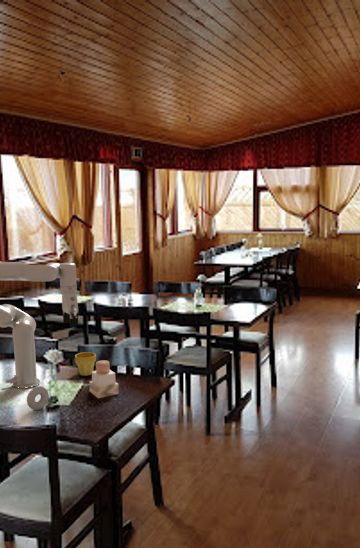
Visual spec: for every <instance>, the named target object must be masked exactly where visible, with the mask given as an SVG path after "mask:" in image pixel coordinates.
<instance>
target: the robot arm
mask: <svg viewBox="0 0 360 548" xmlns="http://www.w3.org/2000/svg"><path fill="white" fill-rule="evenodd" d="M57 278H59V286H60V293H61V309H62V320H63V323H64V324H67V323H69V327H70V328H73V327H74V328H75V327H78V319H77V318H78V314H79V306H78V305H79V303H78V296H77V292H78V289H77V288H78V287H77V265H76V263H74V262H62V263H61V262H48V263H47V264H37V265H35V264H28V263H25V262H22V261H15V262H14V261H12V262H11V261H9V262H8V261H1V260H0V281H23V282H53V281H55V280H57ZM8 327H9V328H12V340H13V352H14V371H15V374H14V375H13V377H12V378H5V383H6V384H12V386H13V387H14V386H15V387H19V388H18V389H25V388H24V387H31V386H35V385H37V384H39V383H40V384H41V380H40V379H39V378H37V361H36V360H37V359H36V345H35V344H36V342H35V330H36V328H37V322H36V320H35V319H34V318H33V316H31V315H29V314H28V313H26V312H25V311H22V310H21V309H20V308H17V307H16V306H15V305H12V304H9V303H8V304H7V303H4V304H0V328H8ZM40 384H39V385H40ZM37 386H38V385H37ZM15 387H14V388H15ZM35 387H36V386H35ZM31 388H32V387H31Z"/></svg>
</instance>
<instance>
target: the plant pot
mask: <svg viewBox="0 0 360 548" xmlns="http://www.w3.org/2000/svg"><path fill="white" fill-rule="evenodd" d="M74 361H75V363H76V366H77V369H78V373H79V376H83V377H85V376H92V371H94V367H95V364H96V362H97V354H96V353H94V352H84V351H83V352H80V353H79V352H78V353H76V354H75V355H74Z"/></svg>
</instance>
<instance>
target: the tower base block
mask: <svg viewBox="0 0 360 548" xmlns="http://www.w3.org/2000/svg"><path fill="white" fill-rule="evenodd" d="M88 384H89V385H88V386H89V392H90V393H91V394H92V395H93V396H94V397H96V398H97V399H101V398H105V397H106V398H107V397H110V396H115V395H119V394H120V392H119V390H120V387H119V383H118V382H116V384H112V385H107V386H102V387H98V386H97V385H96V384H94V383H93V382H92V380H90V381H89V383H88Z"/></svg>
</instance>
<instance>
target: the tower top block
mask: <svg viewBox="0 0 360 548" xmlns="http://www.w3.org/2000/svg"><path fill="white" fill-rule="evenodd" d="M91 381H92V382H93V383H94V384H96V385H97V386H98V387H102V386H107V385H112V384H116V383H117V382H116V372H114V371H112V370H111V369H110V372H109V373H107V374H98V373H96V370H93V371H92V374H91Z"/></svg>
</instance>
